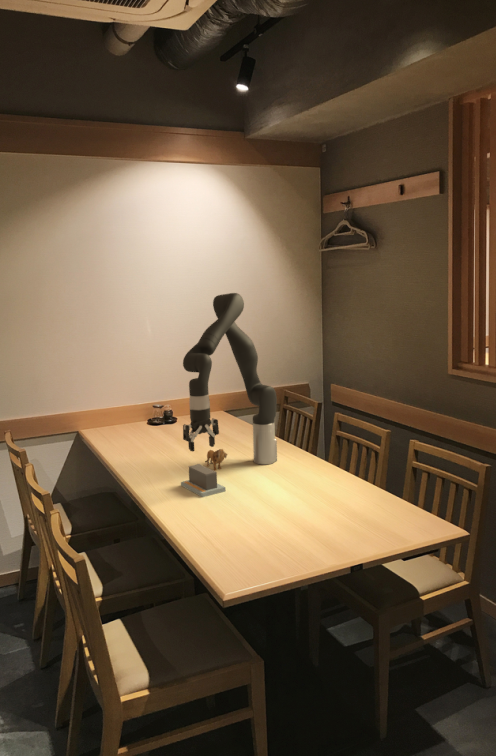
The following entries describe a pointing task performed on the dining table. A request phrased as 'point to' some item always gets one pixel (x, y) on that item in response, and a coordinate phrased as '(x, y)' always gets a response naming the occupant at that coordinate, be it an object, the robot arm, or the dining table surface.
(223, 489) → the board
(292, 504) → the dining table surface
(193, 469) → the block
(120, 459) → the dining table surface
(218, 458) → the lion figurine
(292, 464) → the dining table surface
